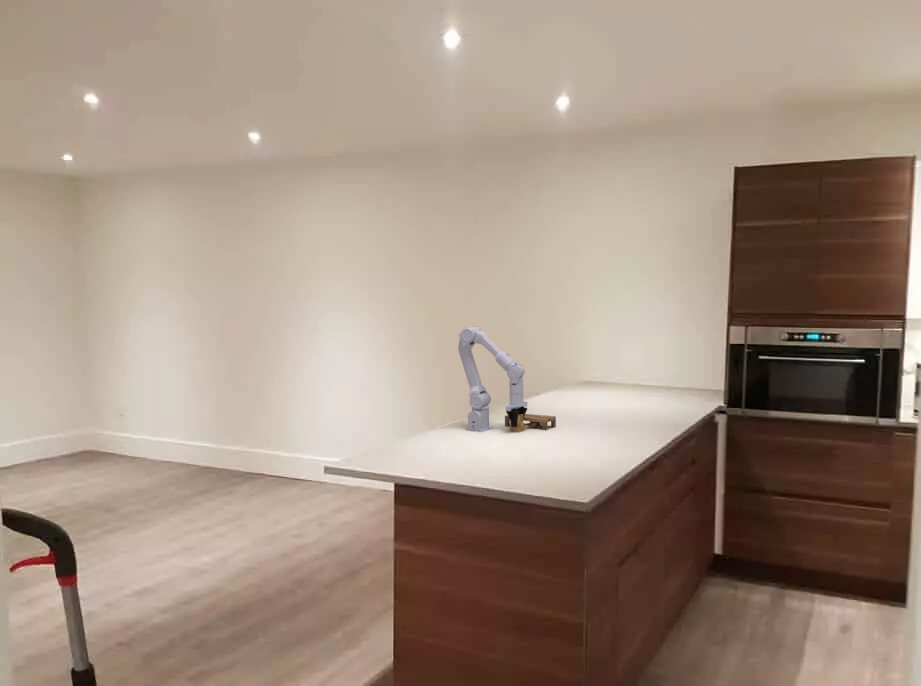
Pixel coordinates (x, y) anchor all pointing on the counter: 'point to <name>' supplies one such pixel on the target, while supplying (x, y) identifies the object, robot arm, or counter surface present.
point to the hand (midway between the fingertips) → (517, 425)
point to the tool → (521, 424)
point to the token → (538, 423)
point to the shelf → (536, 420)
